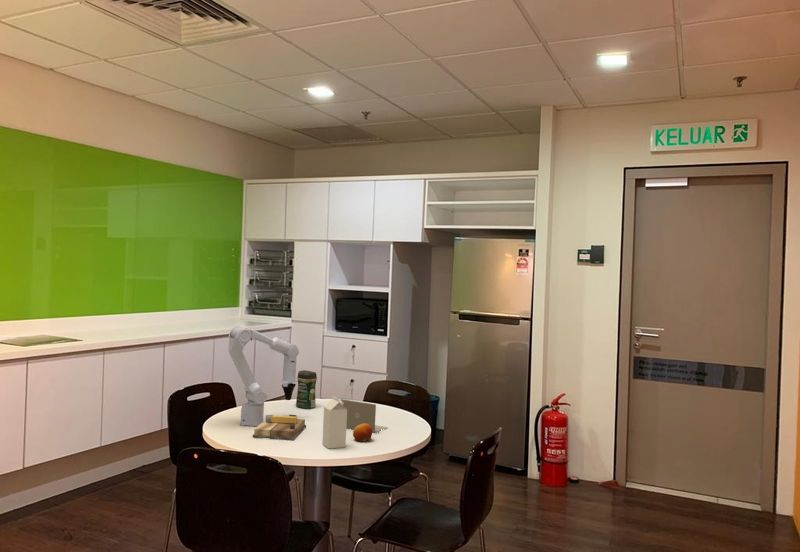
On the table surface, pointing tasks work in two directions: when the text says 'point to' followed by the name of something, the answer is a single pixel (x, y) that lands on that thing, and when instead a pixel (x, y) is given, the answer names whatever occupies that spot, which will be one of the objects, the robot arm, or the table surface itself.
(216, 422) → the table surface
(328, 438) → the milk carton
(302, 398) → the coffee jar
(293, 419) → the bar
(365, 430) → the fruit
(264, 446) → the table surface
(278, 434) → the wooden board with knob
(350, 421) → the laptop
